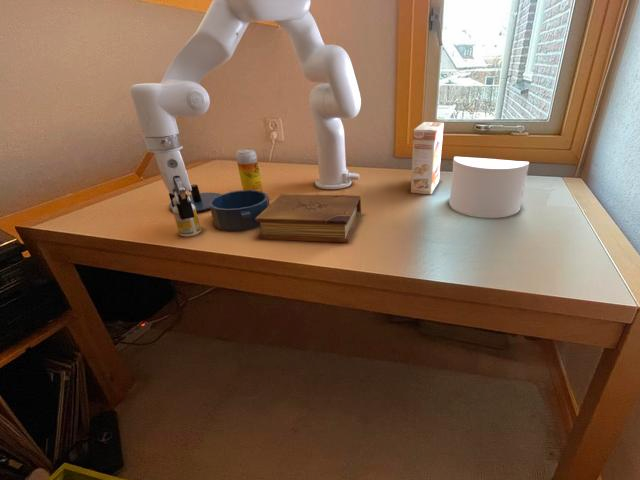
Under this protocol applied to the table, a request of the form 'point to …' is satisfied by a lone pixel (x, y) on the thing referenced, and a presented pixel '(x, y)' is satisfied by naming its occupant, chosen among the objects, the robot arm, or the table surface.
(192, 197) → the pan lid
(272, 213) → the diary
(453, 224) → the table surface
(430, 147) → the coffeecake box
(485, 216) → the container
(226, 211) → the pan
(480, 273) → the table surface
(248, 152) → the beer can
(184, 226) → the supplement bottle
